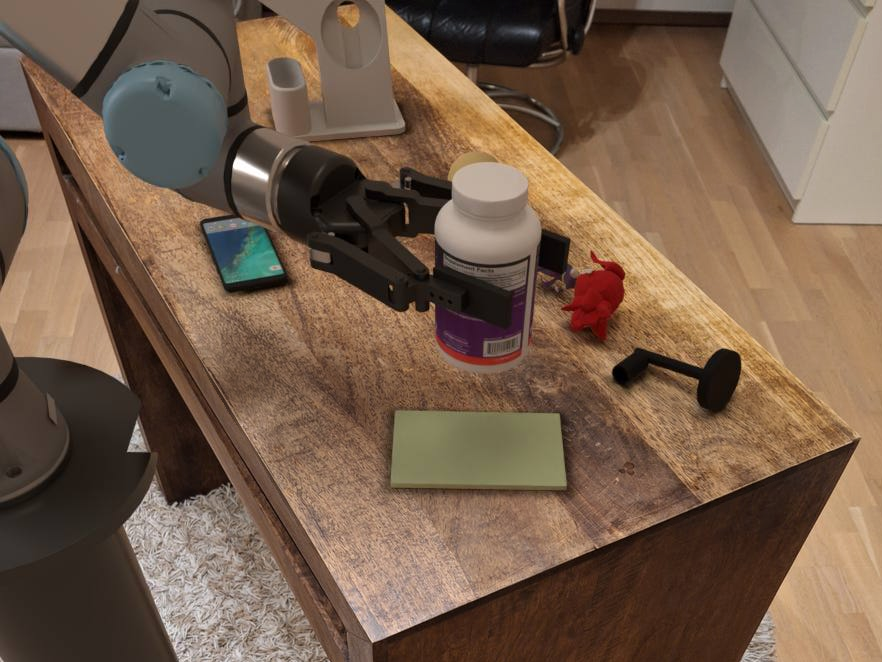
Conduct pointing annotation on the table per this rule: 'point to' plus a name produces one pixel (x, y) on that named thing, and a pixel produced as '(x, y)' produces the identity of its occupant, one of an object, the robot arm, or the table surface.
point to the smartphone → (242, 253)
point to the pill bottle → (488, 264)
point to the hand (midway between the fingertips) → (538, 283)
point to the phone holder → (336, 74)
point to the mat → (477, 450)
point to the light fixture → (689, 374)
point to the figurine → (591, 294)
